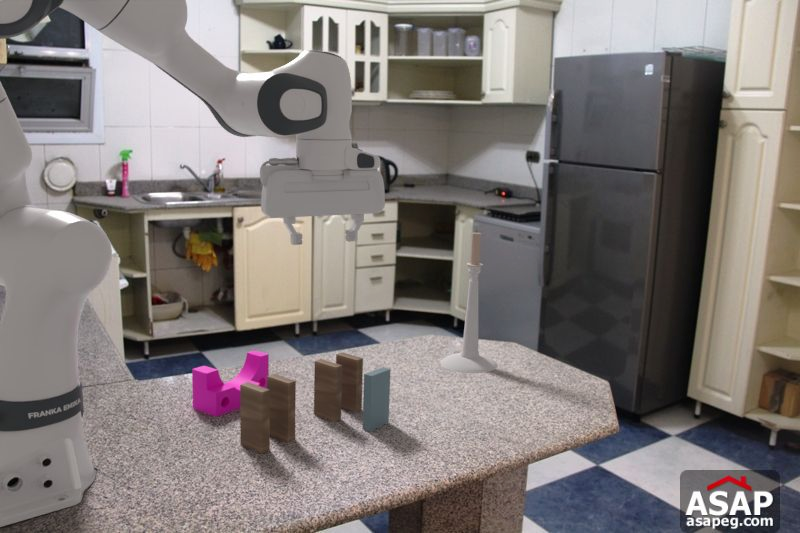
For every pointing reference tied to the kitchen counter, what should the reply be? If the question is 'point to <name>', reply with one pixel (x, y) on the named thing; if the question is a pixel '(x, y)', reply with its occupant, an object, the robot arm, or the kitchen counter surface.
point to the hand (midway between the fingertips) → (324, 242)
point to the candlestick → (471, 324)
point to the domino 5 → (376, 398)
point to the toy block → (227, 384)
